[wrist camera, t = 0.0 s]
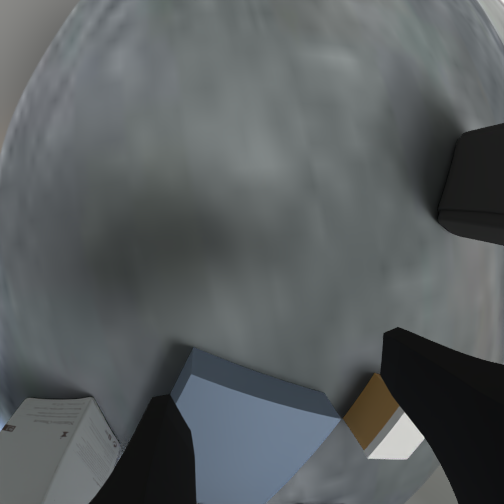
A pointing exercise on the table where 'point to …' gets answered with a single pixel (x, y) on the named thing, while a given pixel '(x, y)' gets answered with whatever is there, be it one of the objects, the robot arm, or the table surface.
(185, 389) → the box
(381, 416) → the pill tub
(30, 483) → the skincare box
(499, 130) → the card reader
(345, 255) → the table surface
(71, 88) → the table surface
